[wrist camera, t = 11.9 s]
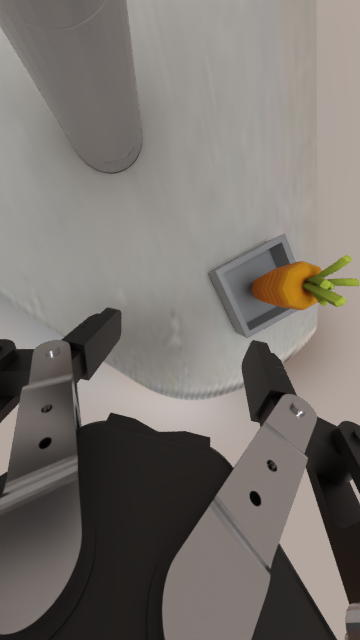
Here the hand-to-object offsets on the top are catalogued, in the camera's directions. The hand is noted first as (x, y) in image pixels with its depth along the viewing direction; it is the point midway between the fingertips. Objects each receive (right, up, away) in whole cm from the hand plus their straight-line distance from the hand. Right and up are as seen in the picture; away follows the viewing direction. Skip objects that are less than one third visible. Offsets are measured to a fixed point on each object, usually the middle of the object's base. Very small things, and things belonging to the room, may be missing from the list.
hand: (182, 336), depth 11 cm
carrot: (+11, +6, +18) cm, 22 cm away
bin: (+11, +6, +19) cm, 23 cm away
